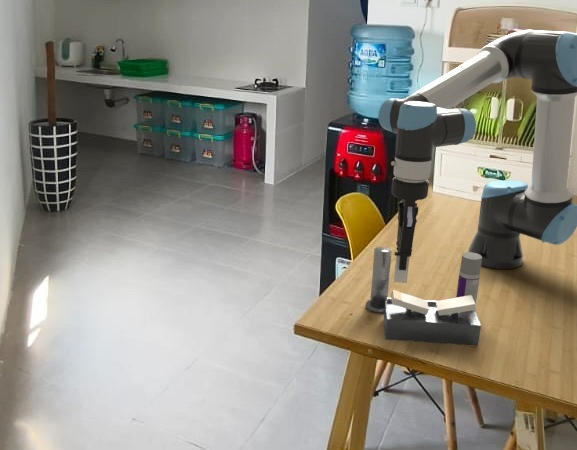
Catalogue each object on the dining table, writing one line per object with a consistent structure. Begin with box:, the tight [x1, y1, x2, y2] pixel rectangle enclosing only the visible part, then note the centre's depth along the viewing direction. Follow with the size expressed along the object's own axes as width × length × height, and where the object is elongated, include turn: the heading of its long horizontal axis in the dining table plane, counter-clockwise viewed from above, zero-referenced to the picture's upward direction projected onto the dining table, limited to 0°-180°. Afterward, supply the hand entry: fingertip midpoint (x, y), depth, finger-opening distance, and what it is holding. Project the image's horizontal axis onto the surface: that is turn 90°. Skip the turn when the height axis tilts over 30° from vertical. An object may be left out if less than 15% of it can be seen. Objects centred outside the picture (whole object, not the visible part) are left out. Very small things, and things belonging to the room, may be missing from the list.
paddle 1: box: [390, 289, 429, 315], centre depth 141 cm, size 8×4×2 cm, turn 86°
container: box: [455, 251, 482, 306], centre depth 150 cm, size 5×5×15 cm
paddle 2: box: [435, 295, 477, 316], centre depth 141 cm, size 8×4×1 cm, turn 84°
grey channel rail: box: [383, 297, 482, 347], centre depth 143 cm, size 20×9×6 cm, turn 85°
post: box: [365, 246, 393, 315], centre depth 152 cm, size 6×6×15 cm
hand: (400, 281), depth 141 cm, fingers closed
